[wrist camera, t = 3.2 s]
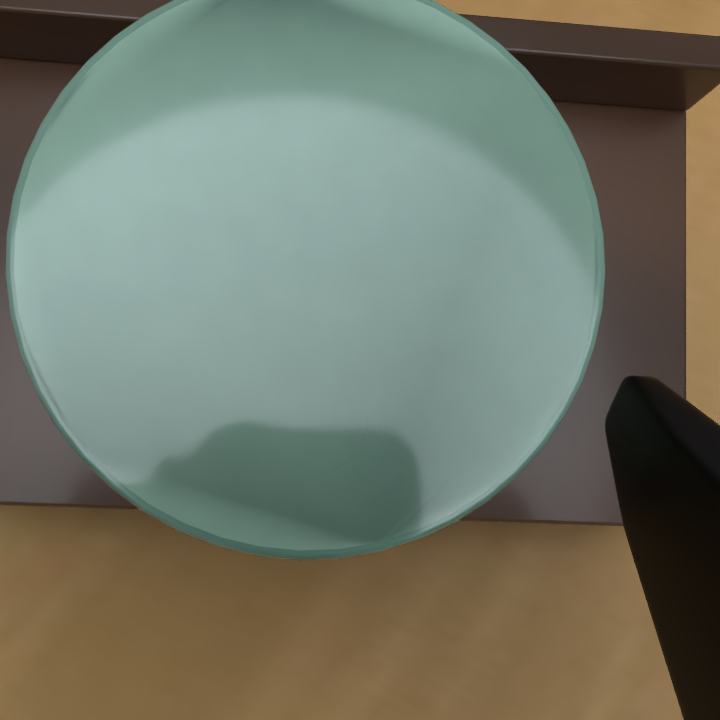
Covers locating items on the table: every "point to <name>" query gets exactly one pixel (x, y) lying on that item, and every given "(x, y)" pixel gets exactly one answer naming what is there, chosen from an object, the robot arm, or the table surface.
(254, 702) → the table surface
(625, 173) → the shelf
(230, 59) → the green mug
